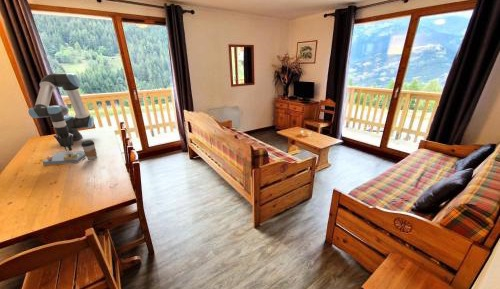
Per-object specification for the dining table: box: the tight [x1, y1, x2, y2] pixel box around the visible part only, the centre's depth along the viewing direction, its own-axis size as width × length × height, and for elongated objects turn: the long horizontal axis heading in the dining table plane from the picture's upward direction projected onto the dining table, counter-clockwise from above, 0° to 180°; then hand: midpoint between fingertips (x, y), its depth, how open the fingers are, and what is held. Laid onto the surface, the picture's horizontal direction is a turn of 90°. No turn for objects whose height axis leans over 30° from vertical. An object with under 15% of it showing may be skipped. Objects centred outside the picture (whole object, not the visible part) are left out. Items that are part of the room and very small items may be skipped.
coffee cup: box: [80, 139, 98, 162], centre depth 166 cm, size 8×8×15 cm
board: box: [42, 150, 87, 166], centre depth 169 cm, size 17×24×2 cm
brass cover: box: [63, 154, 78, 161], centre depth 162 cm, size 6×6×4 cm
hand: (70, 154), depth 168 cm, fingers closed
